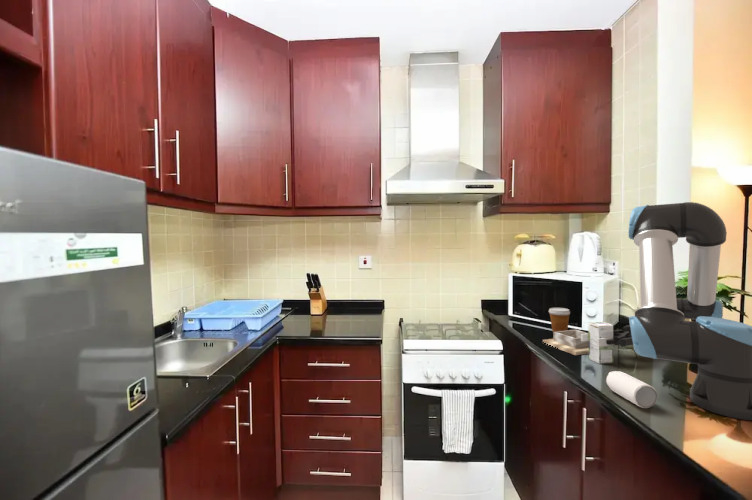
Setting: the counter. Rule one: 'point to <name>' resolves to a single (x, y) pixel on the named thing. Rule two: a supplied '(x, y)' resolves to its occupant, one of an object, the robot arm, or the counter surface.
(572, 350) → the stand
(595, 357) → the syrup box
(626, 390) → the can
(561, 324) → the disposable coffee cup
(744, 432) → the counter surface
